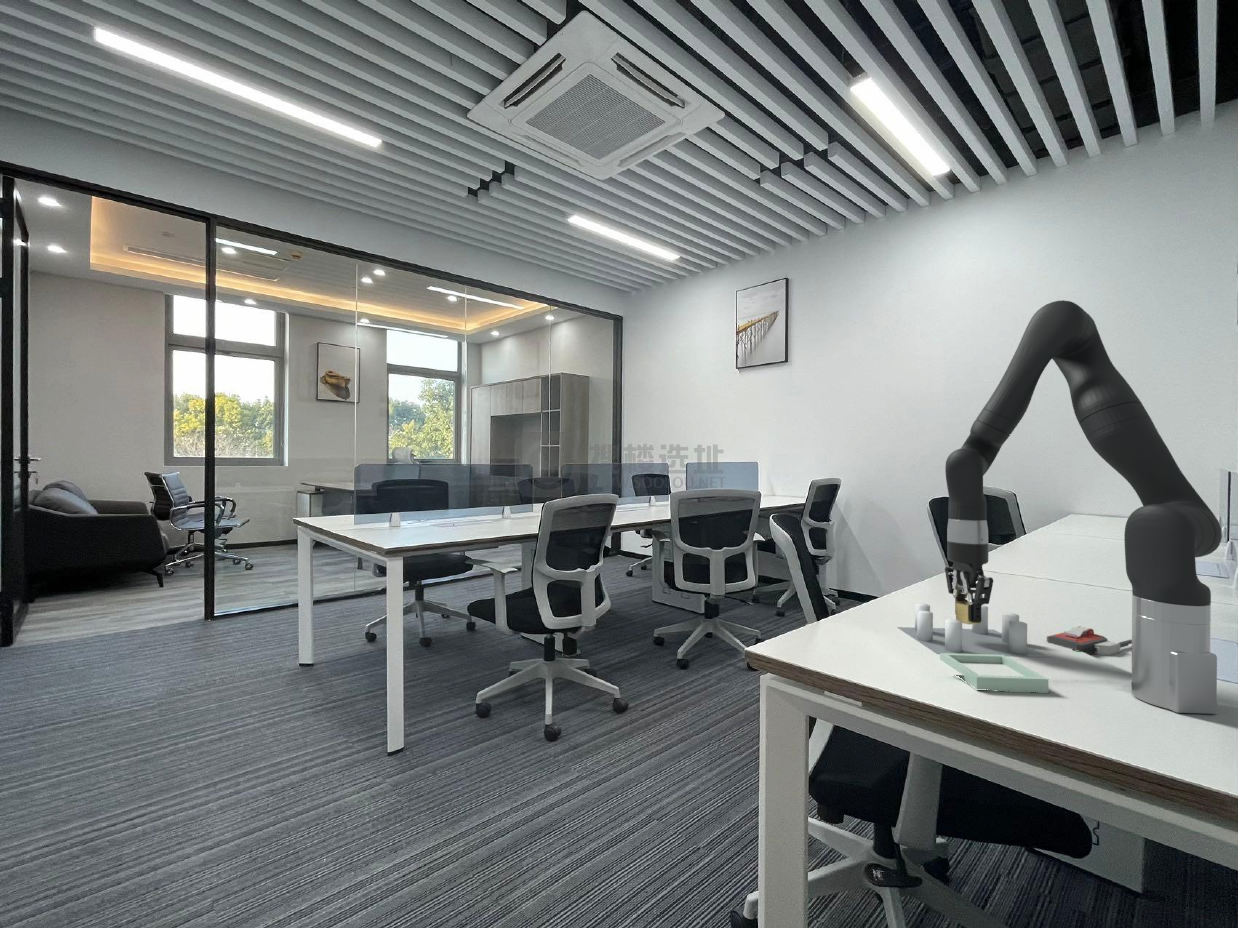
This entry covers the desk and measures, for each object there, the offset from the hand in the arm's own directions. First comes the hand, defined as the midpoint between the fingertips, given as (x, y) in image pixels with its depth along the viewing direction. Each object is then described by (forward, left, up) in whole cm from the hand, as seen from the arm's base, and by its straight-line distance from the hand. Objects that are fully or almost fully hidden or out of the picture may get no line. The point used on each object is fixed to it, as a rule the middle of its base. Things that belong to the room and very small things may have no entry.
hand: (967, 618), depth 117 cm
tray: (-17, +6, -6) cm, 19 cm away
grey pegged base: (+1, 0, -6) cm, 6 cm away
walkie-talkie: (+2, -27, -7) cm, 28 cm away
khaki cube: (0, 0, -1) cm, 1 cm away
